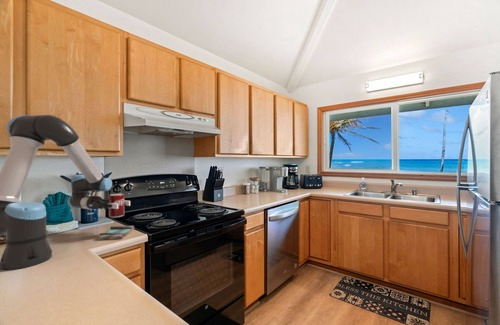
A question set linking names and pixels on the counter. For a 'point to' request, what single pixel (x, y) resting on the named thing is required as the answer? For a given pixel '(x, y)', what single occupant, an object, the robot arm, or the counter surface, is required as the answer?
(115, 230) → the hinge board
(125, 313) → the counter surface
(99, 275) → the counter surface
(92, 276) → the counter surface
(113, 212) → the soda can
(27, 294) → the counter surface
